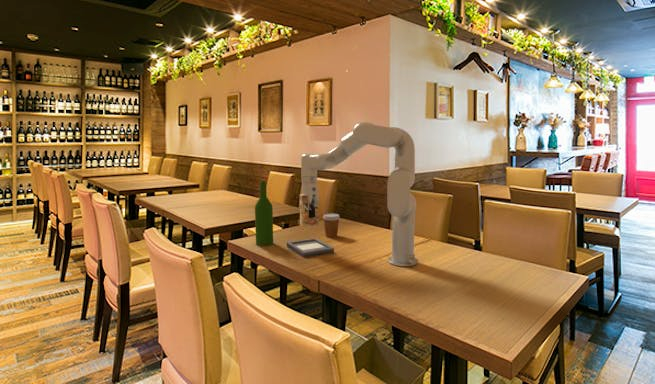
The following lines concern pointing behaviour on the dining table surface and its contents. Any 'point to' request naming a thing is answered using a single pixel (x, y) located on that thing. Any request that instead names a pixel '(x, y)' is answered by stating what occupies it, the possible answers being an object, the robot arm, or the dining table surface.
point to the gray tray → (310, 247)
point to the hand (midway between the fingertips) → (309, 216)
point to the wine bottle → (263, 219)
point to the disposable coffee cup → (331, 224)
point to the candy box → (305, 212)
